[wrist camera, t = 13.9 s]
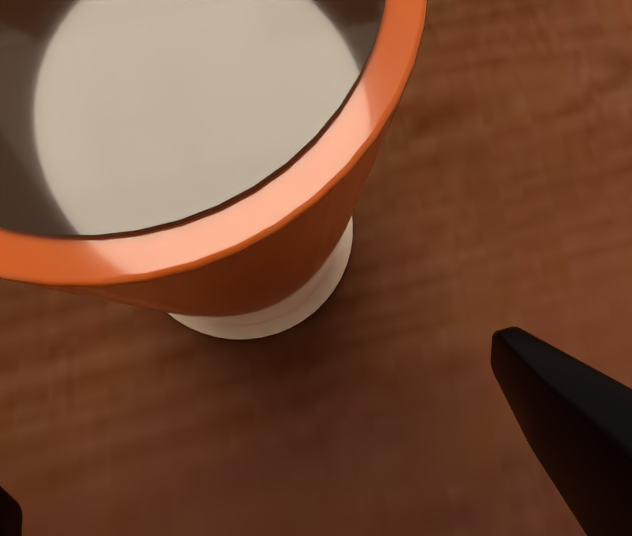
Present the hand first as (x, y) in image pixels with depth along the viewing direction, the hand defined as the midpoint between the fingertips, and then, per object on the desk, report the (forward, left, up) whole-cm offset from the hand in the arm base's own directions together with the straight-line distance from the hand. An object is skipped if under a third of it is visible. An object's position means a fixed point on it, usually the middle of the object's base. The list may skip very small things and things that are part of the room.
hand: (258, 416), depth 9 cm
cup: (+4, -4, -8) cm, 10 cm away
